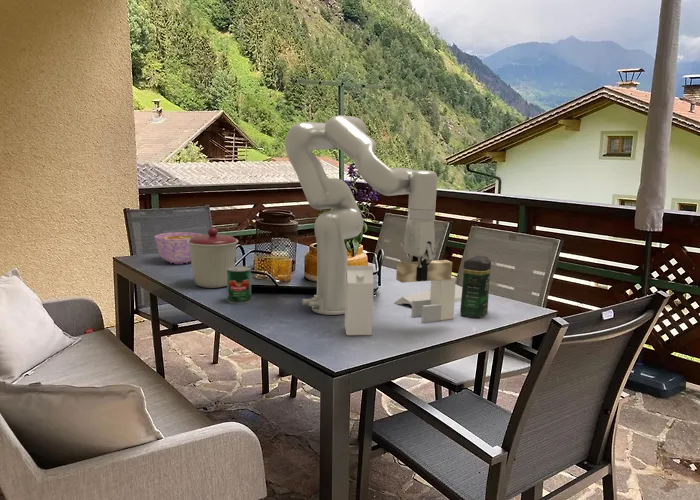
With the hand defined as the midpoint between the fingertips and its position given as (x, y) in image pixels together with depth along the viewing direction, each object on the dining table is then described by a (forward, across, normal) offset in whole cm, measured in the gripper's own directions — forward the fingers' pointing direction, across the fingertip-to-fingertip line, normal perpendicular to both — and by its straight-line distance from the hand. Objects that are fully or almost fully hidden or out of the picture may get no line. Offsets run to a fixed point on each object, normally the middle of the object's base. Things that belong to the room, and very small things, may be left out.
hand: (417, 278), depth 169 cm
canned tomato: (+16, -46, -41) cm, 63 cm away
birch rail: (0, 0, +2) cm, 2 cm away
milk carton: (+15, -3, -17) cm, 23 cm away
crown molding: (+16, -26, +22) cm, 38 cm away
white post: (+15, -8, +11) cm, 20 cm away
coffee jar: (+15, -7, +25) cm, 30 cm away
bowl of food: (+17, -114, -52) cm, 127 cm away
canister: (+16, -70, -45) cm, 85 cm away
